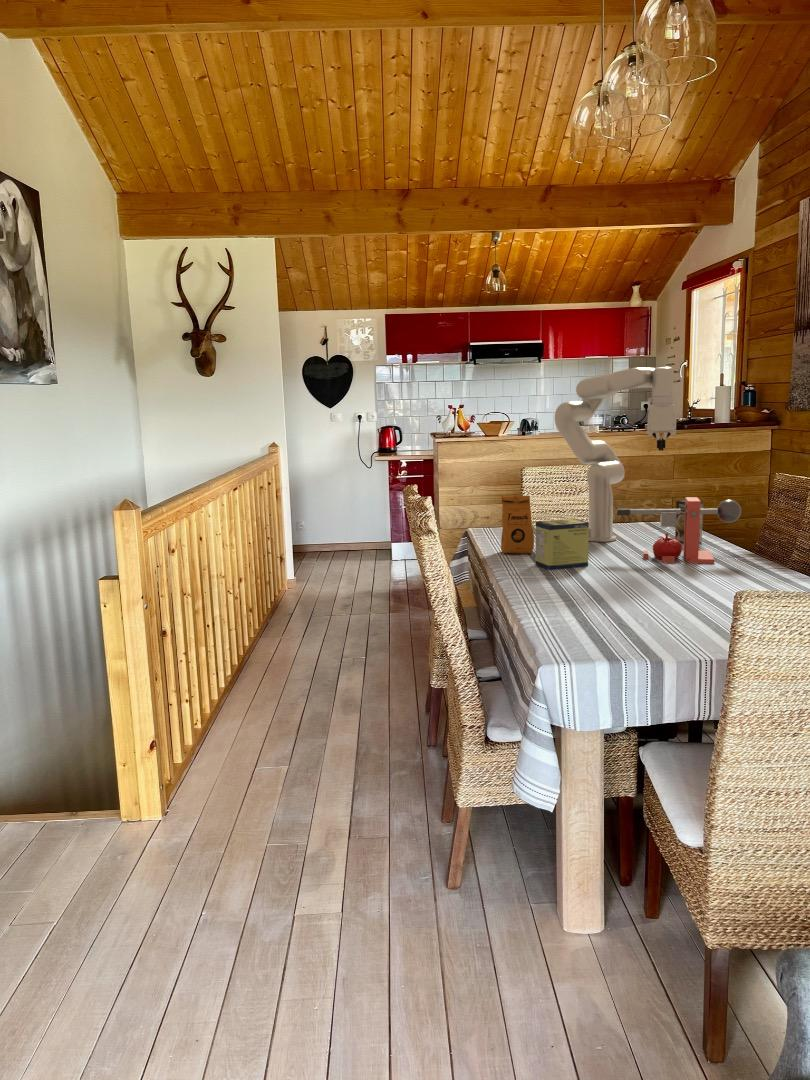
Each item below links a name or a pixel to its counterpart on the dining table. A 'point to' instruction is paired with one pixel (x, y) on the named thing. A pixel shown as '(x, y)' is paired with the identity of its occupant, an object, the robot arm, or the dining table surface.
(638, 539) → the dining table surface
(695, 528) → the press stand
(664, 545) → the pomegranate
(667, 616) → the dining table surface
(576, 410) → the robot arm
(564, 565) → the protein box
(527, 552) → the coffee package
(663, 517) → the lever
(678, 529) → the coffee box
